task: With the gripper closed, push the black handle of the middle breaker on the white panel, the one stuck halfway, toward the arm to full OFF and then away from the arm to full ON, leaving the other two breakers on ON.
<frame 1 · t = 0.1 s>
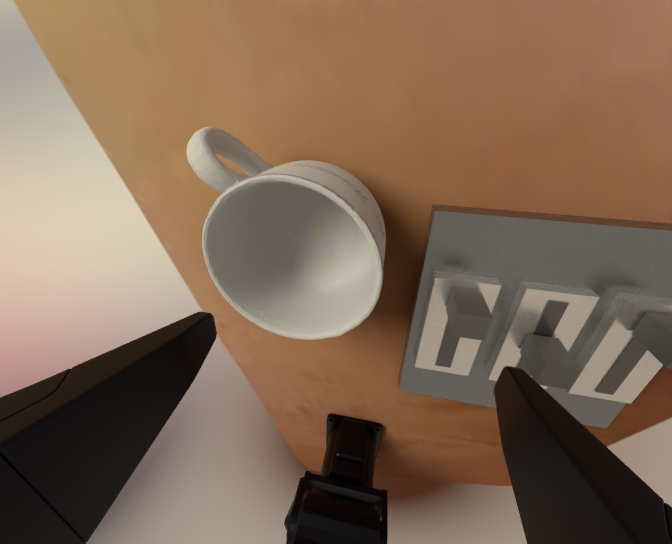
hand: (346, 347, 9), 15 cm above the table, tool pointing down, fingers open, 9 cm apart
tripped handle: (547, 360, 20), point 4 cm above the table, slide at 0.0 cm
teacup: (311, 206, 23), on the table
breaker panel: (525, 322, 23), on the table
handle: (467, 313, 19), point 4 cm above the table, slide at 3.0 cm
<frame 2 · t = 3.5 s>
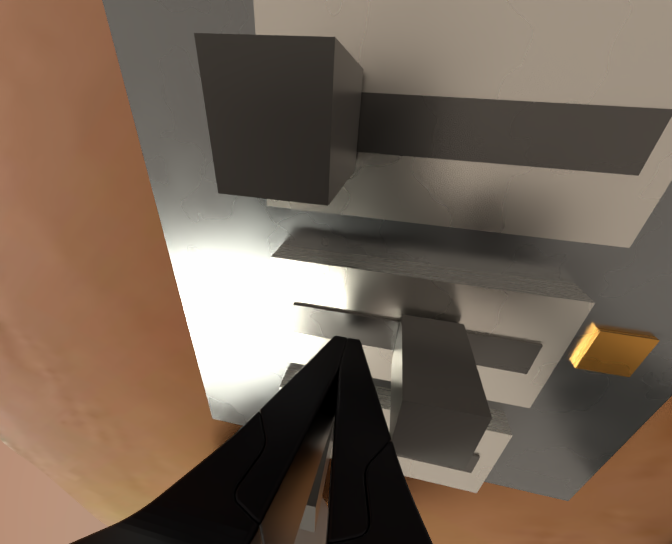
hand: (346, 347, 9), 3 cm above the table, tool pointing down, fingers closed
tripped handle: (429, 382, 8), point 4 cm above the table, slide at -0.6 cm, touching gripper
teacup: (256, 472, 22), on the table
breaker panel: (405, 294, 11), on the table
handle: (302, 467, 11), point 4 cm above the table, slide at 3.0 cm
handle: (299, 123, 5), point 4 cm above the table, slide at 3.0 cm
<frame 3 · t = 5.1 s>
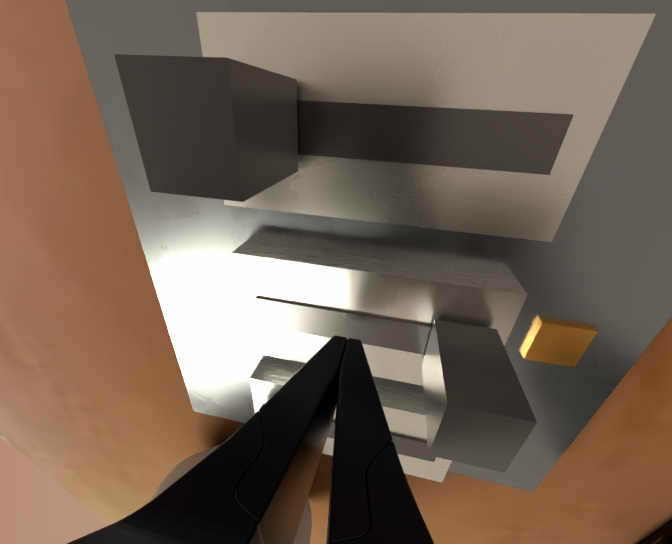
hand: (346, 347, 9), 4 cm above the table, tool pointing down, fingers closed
tripped handle: (465, 387, 8), point 4 cm above the table, slide at -3.1 cm
teacup: (242, 466, 22), on the table
breaker panel: (368, 289, 12), on the table
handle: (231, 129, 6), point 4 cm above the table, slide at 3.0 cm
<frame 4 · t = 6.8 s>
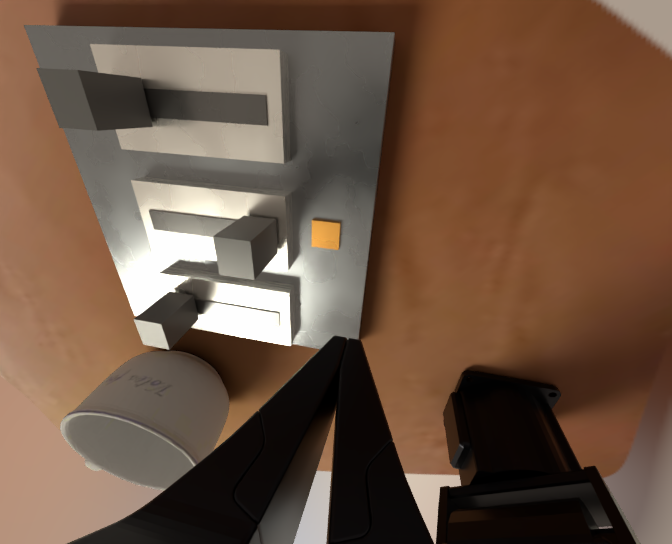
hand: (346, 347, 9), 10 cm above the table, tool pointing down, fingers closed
tripped handle: (248, 245, 15), point 4 cm above the table, slide at -3.1 cm
teacup: (183, 376, 29), on the table
breaker panel: (233, 213, 19), on the table
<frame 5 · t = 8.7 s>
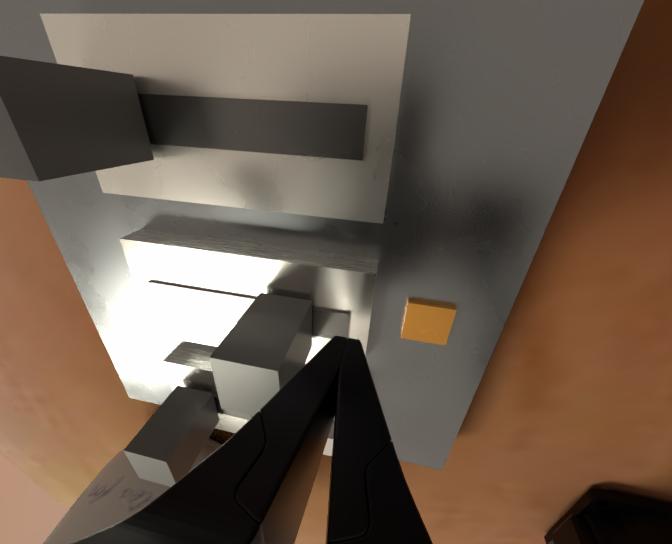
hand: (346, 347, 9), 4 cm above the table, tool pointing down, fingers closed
tripped handle: (270, 350, 9), point 4 cm above the table, slide at -1.6 cm, touching gripper
teacup: (193, 454, 23), on the table
breaker panel: (272, 275, 13), on the table
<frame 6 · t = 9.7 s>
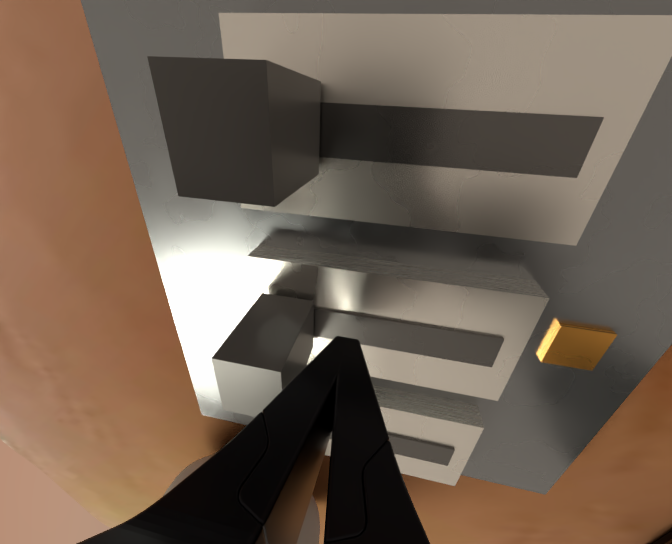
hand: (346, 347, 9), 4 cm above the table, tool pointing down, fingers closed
tripped handle: (272, 351, 9), point 4 cm above the table, slide at 3.1 cm, touching gripper
teacup: (248, 469, 22), on the table
breaker panel: (382, 292, 12), on the table
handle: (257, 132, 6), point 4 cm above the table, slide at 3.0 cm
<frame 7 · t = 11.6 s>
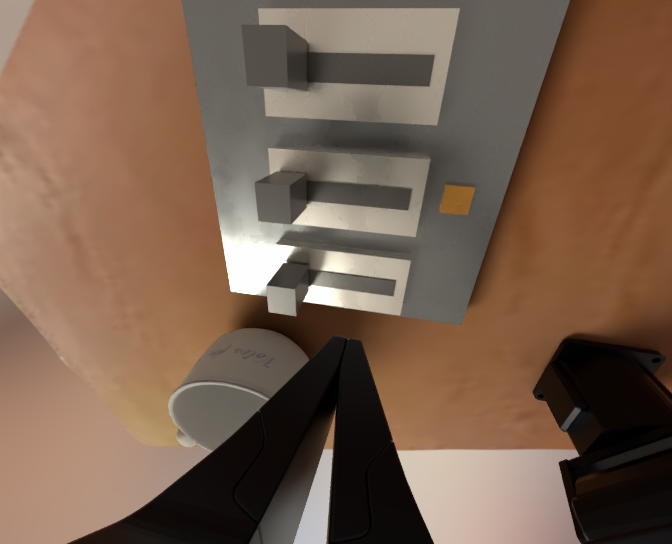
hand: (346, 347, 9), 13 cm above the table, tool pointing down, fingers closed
tripped handle: (283, 196, 16), point 4 cm above the table, slide at 3.1 cm
teacup: (261, 356, 29), on the table
breaker panel: (349, 184, 19), on the table
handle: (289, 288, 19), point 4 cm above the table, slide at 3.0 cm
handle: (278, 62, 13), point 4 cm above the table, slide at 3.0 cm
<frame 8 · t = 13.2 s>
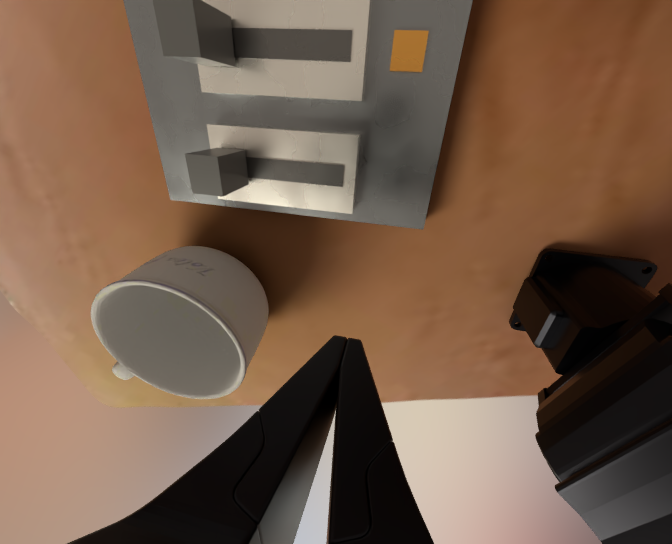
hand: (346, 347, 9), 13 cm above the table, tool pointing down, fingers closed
tripped handle: (198, 35, 13), point 4 cm above the table, slide at 3.1 cm
teacup: (215, 291, 27), on the table
breaker panel: (292, 53, 16), on the table
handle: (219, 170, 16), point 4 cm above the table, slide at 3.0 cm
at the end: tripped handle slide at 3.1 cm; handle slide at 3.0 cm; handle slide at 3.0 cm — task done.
